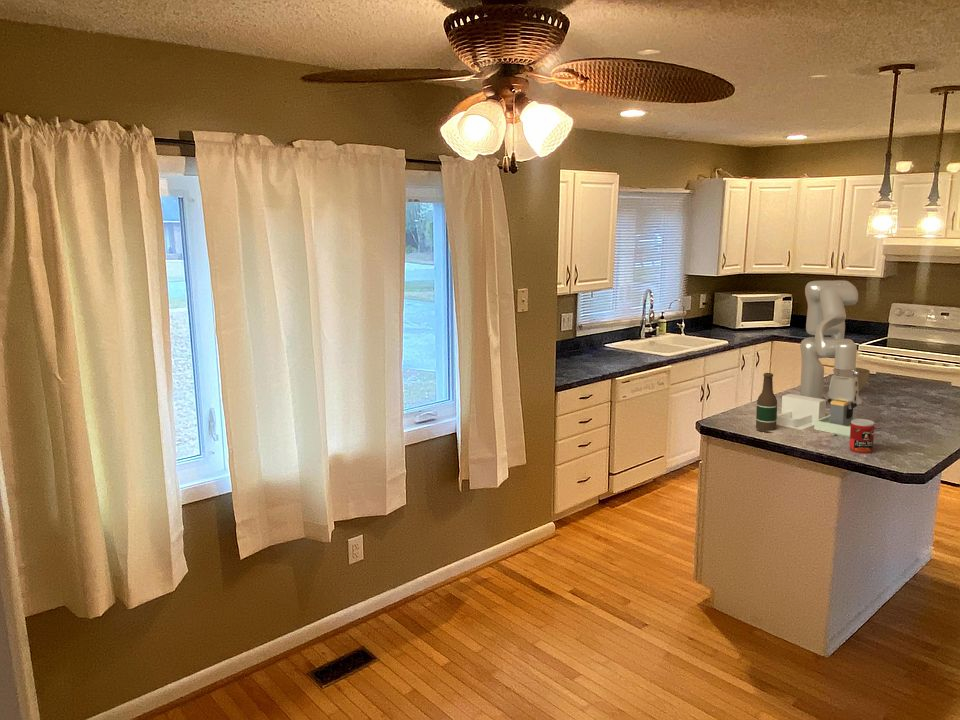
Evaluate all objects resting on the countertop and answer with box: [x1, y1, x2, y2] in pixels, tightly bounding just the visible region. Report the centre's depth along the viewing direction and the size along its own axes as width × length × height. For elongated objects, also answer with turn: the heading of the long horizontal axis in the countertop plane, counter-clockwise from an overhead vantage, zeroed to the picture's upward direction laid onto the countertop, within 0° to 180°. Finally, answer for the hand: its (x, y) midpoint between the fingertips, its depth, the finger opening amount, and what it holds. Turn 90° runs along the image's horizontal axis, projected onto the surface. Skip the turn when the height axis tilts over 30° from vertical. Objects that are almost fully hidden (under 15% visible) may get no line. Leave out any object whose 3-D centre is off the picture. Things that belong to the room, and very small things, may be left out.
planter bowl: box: [832, 367, 871, 391], centre depth 344 cm, size 16×16×11 cm
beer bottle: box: [755, 372, 778, 434], centre depth 280 cm, size 8×8×24 cm
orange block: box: [829, 400, 855, 426], centre depth 276 cm, size 9×5×10 cm, turn 129°
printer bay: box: [776, 393, 827, 431], centre depth 290 cm, size 20×16×10 cm
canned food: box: [848, 418, 876, 454], centre depth 252 cm, size 8×8×11 cm
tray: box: [813, 414, 861, 440], centre depth 277 cm, size 16×14×4 cm
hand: (841, 416), depth 277 cm, fingers closed on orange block, 5 cm apart
